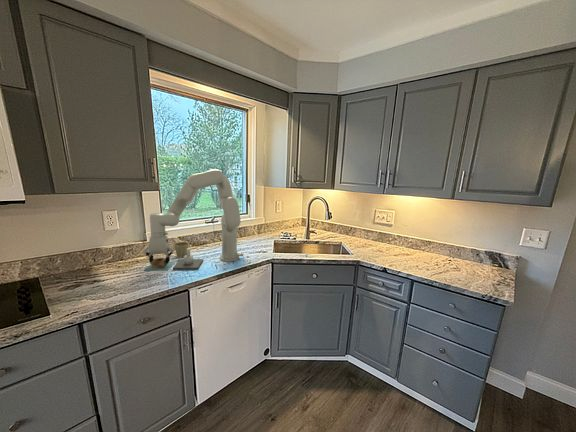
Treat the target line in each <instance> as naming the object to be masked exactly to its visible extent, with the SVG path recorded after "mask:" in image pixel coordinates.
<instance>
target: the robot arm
mask: <svg viewBox="0 0 576 432" xmlns="http://www.w3.org/2000/svg"><path fill="white" fill-rule="evenodd" d="M212 186H216V189H217V193H218V199H219V206H220V207H221V209H222V210H223V214H222V215H221V219H220V221H221V222H220V223H221V255H220V256H219V260H220V261H222V262H228V263H229V262H236V261H238V260H239V259H240V257H244V253H243V252H238V251H239V250H238V248H237V247H238V243H237V242H238V228H239V226H241V214H240V207H239V206H240V205H239V203H238V200H237V199H236V198H235V197H234V195H233V189H232V186H231V182H230V180H229V178H228V177H227V176H226V175H225V174H224V173H223V172H222V171H221V170H220V169H217V168H214V169H213V168H212V169H209V170H207V171H203V172H200V173H192V174H190V175H189V176H188V177H187V179H186V180H185V182H184V184H183V186H182V187H181V188H180V190H179V192H178V194H177V195H176V197H175V198H174V200H173V202H172V203H171V205H170V207H169V208H168V210H167V211H166V213H165V214H164V213H161V212H154V213H153V212H152V213H151V214H150V215H149V225H150V226H149V227H150V228H149V229H150V236H149V240H148V247H146V248H145V249H143V252H144V254H145V255H146V256H147V257H148V260H149V261H148V262H149V263H150V264H151V262H152V261H153V260H154V259H155V258H154V255H163V254H164V255H165V258H166V264H168V263H169V262H170V261H171V260H170V259H171V258H170V257H171V255H172V254H173V253H174V252H175V248H173V247H172V246H170V243H169V238H168V235H169V232H167V231H166V227H175V226H178V224H180V216H181V215H182V213H183V212H184V210H185V209H186V207H188V206H189V205H190V204H191V203H192V202H193V200H194V199H195V197H196V195H197V194H198V192H199V190H201V189H205V188H208V187H212ZM150 264H149V265H150Z"/></svg>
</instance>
